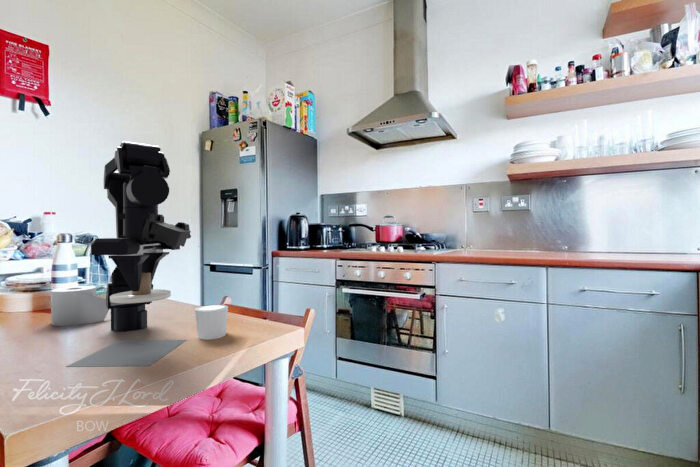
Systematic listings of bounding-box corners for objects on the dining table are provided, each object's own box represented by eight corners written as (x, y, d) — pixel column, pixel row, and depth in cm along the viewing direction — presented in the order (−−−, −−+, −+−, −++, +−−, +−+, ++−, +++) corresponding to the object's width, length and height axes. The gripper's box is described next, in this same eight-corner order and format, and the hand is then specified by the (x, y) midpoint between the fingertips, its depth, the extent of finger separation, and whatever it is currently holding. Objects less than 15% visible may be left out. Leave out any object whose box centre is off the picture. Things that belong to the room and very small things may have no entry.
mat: (66, 371, 58) (66, 366, 57) (120, 343, 72) (120, 340, 72) (149, 370, 58) (149, 365, 58) (187, 343, 72) (187, 339, 72)
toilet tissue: (110, 320, 90) (110, 288, 90) (45, 327, 84) (45, 292, 84) (115, 313, 98) (115, 283, 98) (56, 319, 92) (56, 287, 92)
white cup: (233, 334, 78) (233, 304, 78) (219, 344, 71) (219, 311, 71) (205, 333, 79) (205, 303, 79) (188, 343, 72) (188, 310, 72)
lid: (96, 303, 60) (96, 276, 60) (131, 293, 70) (131, 270, 70) (152, 303, 61) (152, 276, 61) (180, 293, 71) (180, 270, 71)
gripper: (155, 205, 56) (155, 299, 56) (203, 211, 75) (203, 282, 75) (87, 205, 56) (88, 299, 56) (153, 211, 75) (153, 282, 75)
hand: (141, 289), depth 65 cm, fingers closed on lid, 3 cm apart
